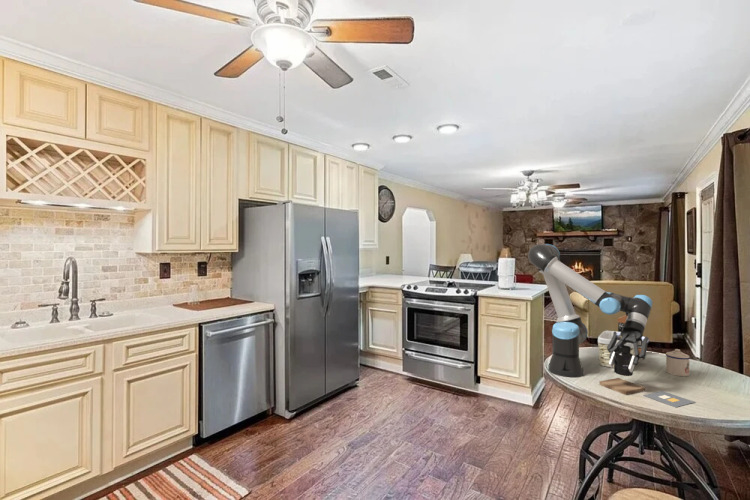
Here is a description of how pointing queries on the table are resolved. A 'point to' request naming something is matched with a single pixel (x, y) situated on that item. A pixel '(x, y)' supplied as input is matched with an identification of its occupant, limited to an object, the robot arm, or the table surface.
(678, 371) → the teacup with lid
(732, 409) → the table surface
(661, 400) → the gray card
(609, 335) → the storage basket
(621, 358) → the supplement bottle
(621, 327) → the whiskey bottle
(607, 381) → the walnut board
